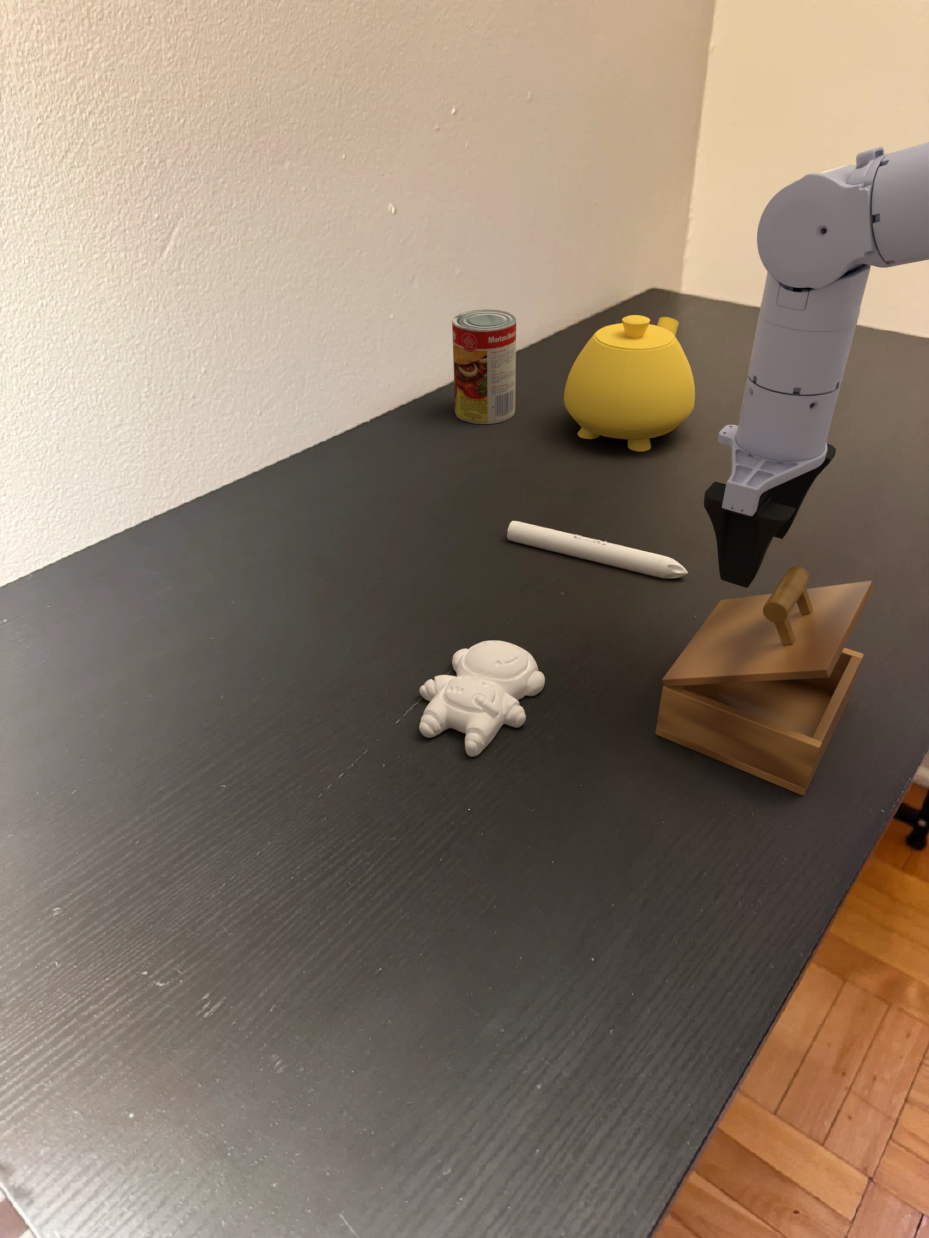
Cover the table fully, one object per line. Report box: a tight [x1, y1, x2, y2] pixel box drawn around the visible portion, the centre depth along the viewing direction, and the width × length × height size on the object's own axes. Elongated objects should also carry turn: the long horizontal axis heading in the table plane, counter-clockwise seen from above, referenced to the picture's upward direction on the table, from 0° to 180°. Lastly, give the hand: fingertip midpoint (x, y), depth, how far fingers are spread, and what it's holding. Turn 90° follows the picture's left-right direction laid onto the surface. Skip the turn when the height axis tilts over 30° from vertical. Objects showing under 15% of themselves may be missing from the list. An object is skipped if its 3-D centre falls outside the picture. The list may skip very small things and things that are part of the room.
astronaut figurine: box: [418, 639, 546, 758], centre depth 65 cm, size 9×12×3 cm
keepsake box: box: [654, 647, 865, 797], centre depth 62 cm, size 11×11×5 cm
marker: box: [506, 520, 689, 579], centre depth 81 cm, size 18×2×2 cm, turn 63°
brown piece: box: [661, 566, 876, 686], centre depth 59 cm, size 12×11×4 cm
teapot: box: [563, 314, 696, 452], centre depth 102 cm, size 20×16×14 cm
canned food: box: [451, 308, 517, 425], centre depth 106 cm, size 8×8×12 cm
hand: (753, 556), depth 62 cm, fingers open, 7 cm apart
